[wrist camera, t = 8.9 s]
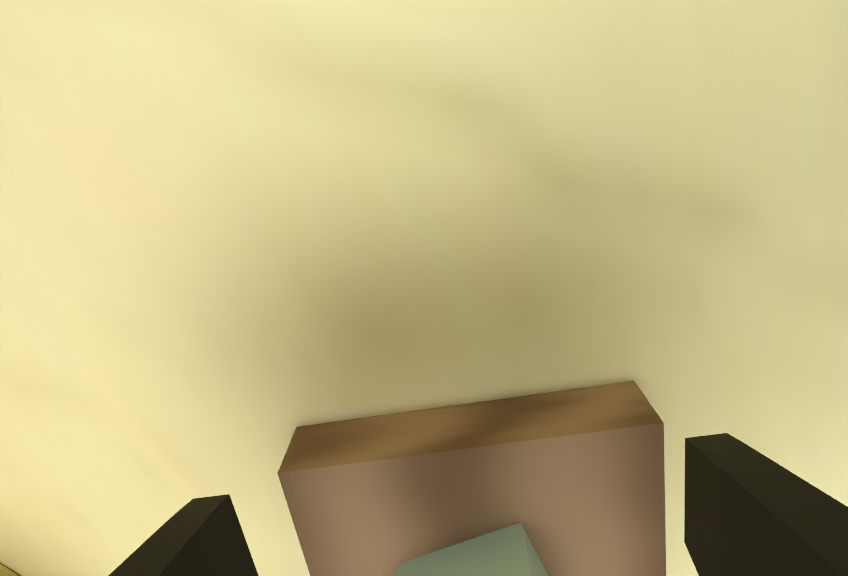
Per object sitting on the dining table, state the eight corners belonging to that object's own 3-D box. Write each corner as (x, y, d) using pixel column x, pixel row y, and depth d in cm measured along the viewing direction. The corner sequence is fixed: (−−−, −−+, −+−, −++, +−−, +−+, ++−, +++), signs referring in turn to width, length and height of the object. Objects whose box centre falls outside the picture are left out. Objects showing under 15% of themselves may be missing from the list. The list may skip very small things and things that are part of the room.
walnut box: (628, 373, 19) (663, 422, 16) (638, 616, 23) (667, 690, 20) (300, 418, 20) (277, 472, 17) (366, 645, 24) (356, 720, 21)
